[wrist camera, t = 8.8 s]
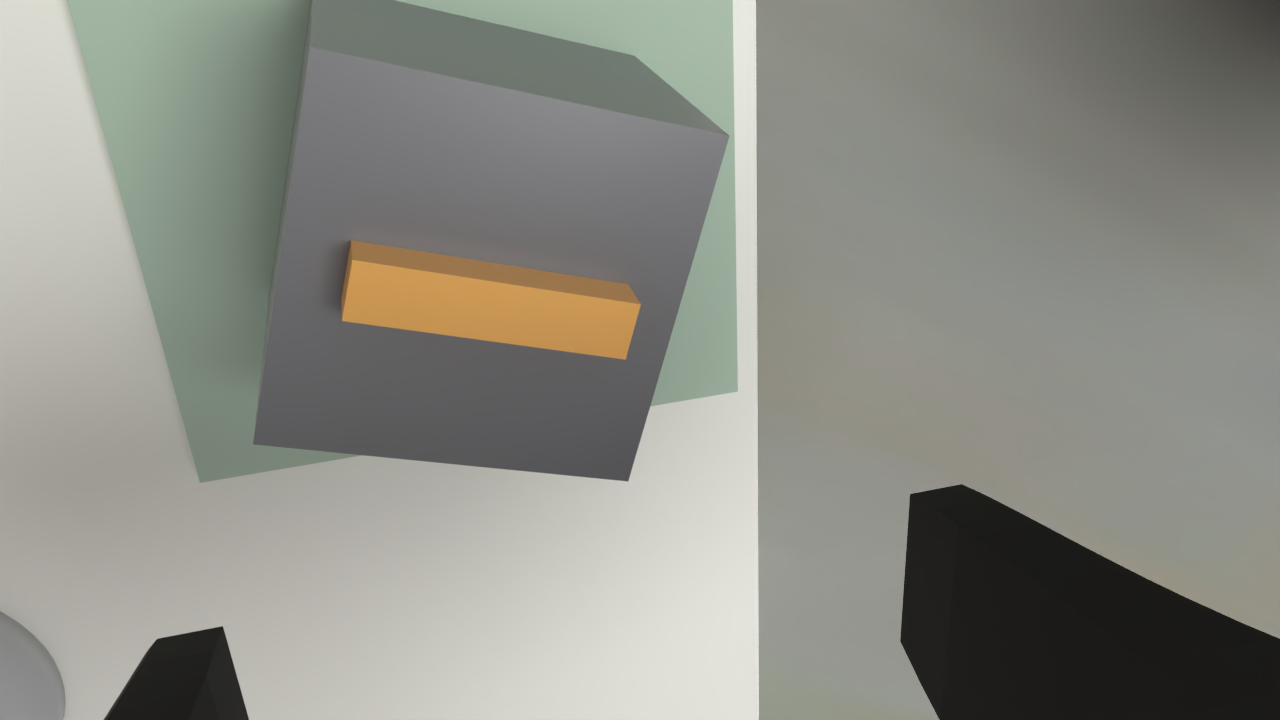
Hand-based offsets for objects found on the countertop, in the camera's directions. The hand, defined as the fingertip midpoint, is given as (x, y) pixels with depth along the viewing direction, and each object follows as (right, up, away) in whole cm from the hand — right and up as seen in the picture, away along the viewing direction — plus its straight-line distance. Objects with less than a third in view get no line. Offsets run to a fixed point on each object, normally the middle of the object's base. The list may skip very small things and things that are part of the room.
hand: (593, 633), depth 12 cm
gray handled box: (-2, +6, +5) cm, 8 cm away
